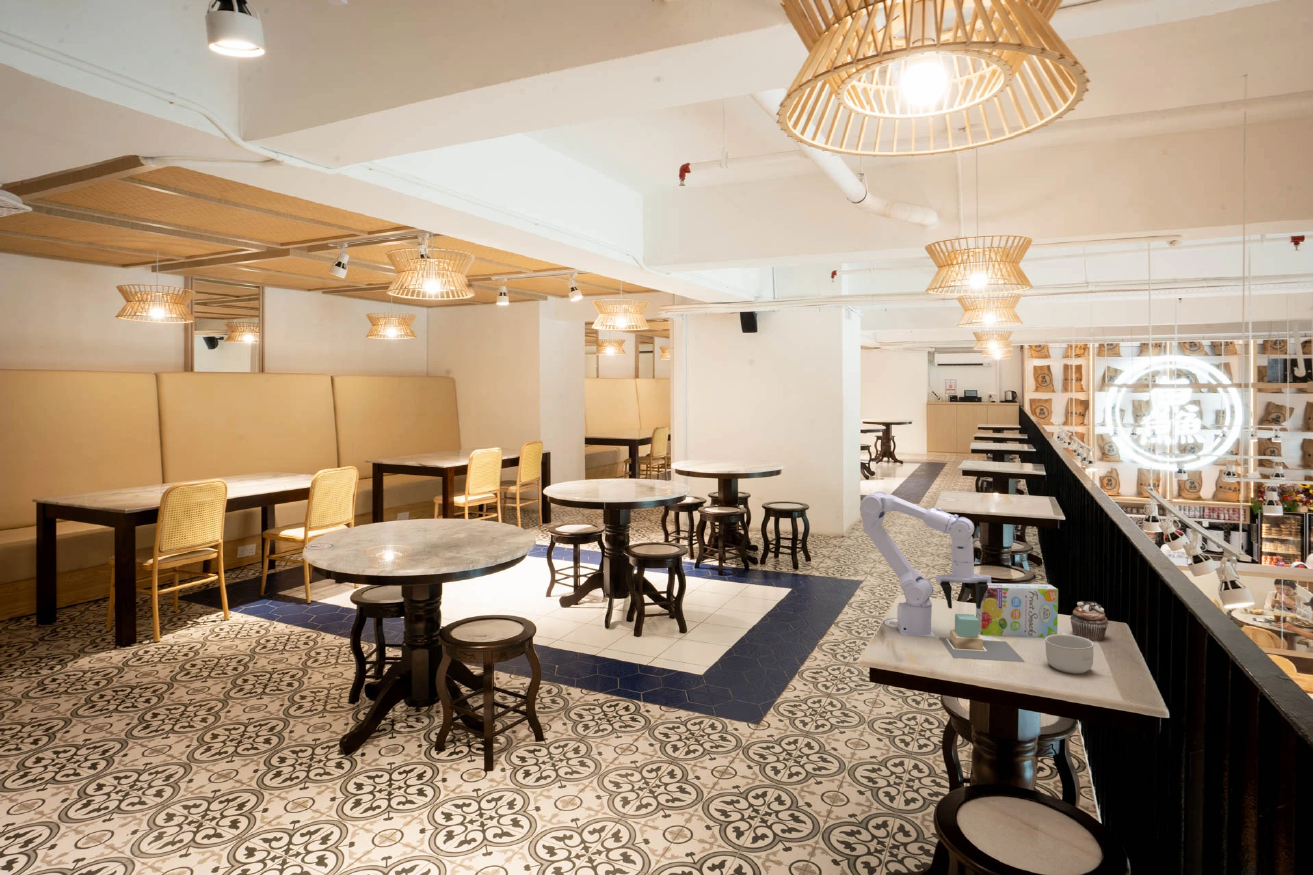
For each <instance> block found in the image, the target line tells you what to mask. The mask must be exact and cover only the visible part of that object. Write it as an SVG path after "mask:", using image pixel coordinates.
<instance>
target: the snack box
mask: <svg viewBox="0 0 1313 875" xmlns="http://www.w3.org/2000/svg"><path fill="white" fill-rule="evenodd" d="M987 585H988V589H987V591H986V592H985V594H984V597H983V599H982V603H981V609H978V608H977V607H976V606H975V617H976V618H977V619H978V620H979V633H978V634H979V635H980V636H995V637H1025V638H1027V637H1028V638H1046V637H1047V636H1050V635H1056V634H1058V622H1059V621H1058V619H1059V618H1058V616H1059V615H1058V614H1059V613H1058V610H1059V589H1058V587H1057V588H1056V587H1055V586H1053V585H1052V584H1044V583H1043V584H1040V583H1039V584H1038V583H1037V584H1036V583H1032V584H1031V583H1029V584H1028V583H997V582H996V583H992V582H991V584H989V583H987Z"/></svg>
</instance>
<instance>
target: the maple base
mask: <svg viewBox="0 0 1313 875" xmlns="http://www.w3.org/2000/svg"><path fill="white" fill-rule="evenodd" d="M949 630H950V631H949V638H950V641H951V642H952V644H953V645H954V646H955V648H956V649H973V650H983V640H984V639H983V637H982V635H981V634H980V633H978V638H970V637H959V636H958V635H957V633H956V632H955V629H949Z"/></svg>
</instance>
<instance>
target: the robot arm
mask: <svg viewBox="0 0 1313 875" xmlns="http://www.w3.org/2000/svg"><path fill="white" fill-rule="evenodd" d="M859 511H860V513H861V521H862V528H863V530H864V532H865V533H866V535H867V536H868V537H869V538H870V540H871V541H872V543H873V544H874V546H875V547H876V549H877V550H878V551H879V553H880V554H881V555H882V557H883V558H884V559H885V561H886V562H887V564H888V565H889V567H890V568H891V570H892V571H893V572H894V573H895V575H896V576H897V578H898V579H899V580H898V581H899V585H900V588H901V589H902V591H903V595H904V598H905V602H899V603H898V604H897V614H896V615H897V621H896V628H897V630H898V632H899V634H900V635H903V636H918V637H919V636H920V637H921V636H922V637H935V634H934V633H933V631H932V615H933V614H932V613H933V612H932V611H933V609H932V607H933V604H932V601H931V599H930V597H931V596H932V595H933V594H934V585H933V583H932V582H931V581H930V580H928V579H926V578H925V577H923V575H922V574H921V573H920V572H919V571H918V570H916V569H914V568H913V566H912V564H911V563H910V561H909V560H908V559H907V558H906V556H905V554H903V552H902V551H901V549H900V547H899V546H898V545H897V544H896V542H895V541H894V540H893V538H892V537H891V535H890V534H889V533H888V530H886V528H885V527H884V526H883V522H884V517H885V515H886V513H889V512H890V513H891V512H899V513H902V514H904V515H908V516H910V517H913V518H916V519H920V520H922V521H923V523H924V524H925V526H926V527H928V528H931V529H933V530H935V531H936V530H937V531H939V532H942V533H943V534H947V535H949V536H950V537H951V568H952V569H951V574H935V582H936V583H937V584H939V585H940V587H941V589H942V592H943V594H944V596H945V598H946V599H945V600H946V604H947V607H948V609H951V610H952V609H953V602H952V589H953V587H952V586H951V584H954V583H955V584H957V583H958V584H962V583H963V584H964V583H966V584H974V586H975V588H974V589H975V608H976V607H977V608H978V609H981V603H982V599H983V597H984V594H985V592H986V591H987V589H988V585H987V583H989V584H991V583H992V576H991V575H988V574H987V575H986V574H975V566H974V565H975V562H974V560H975V558H974V557H975V556H974V544H973V543H974V542H973V541H974V539H973V536H972V535H973V534H974V531H975V525H974V523H973V522H972V520H971V519H969V518H967V517H965V516H960V517H959V515H958V514H951V513H949V512H946V511H943V508H941V507H938V506H937V507H936V508H935V507H932V508H928V509H926V508H923V507H921V506H919V505H917V504H914V503H913V502H910V501H907V500H905V499H903V498H901V497H899V496H896V495H894V494H891V493H885V492H883V491H875V492H873V493H871V494H868V495H865V496H864V497H863V499H862V500H861V503H860V505H859Z"/></svg>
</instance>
